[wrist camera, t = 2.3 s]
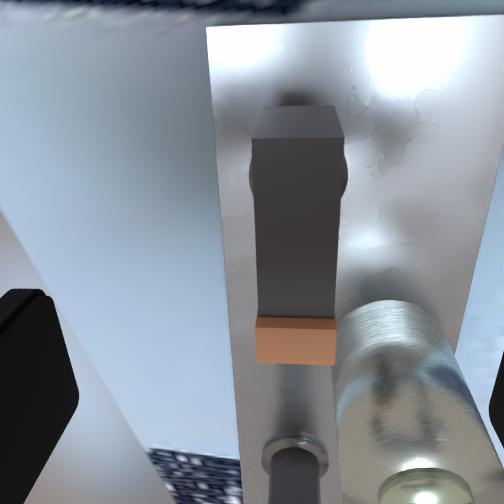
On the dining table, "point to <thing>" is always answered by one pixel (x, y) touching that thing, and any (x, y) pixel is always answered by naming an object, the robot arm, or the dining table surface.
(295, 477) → the knob
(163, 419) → the dining table surface
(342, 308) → the plate
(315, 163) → the knob
